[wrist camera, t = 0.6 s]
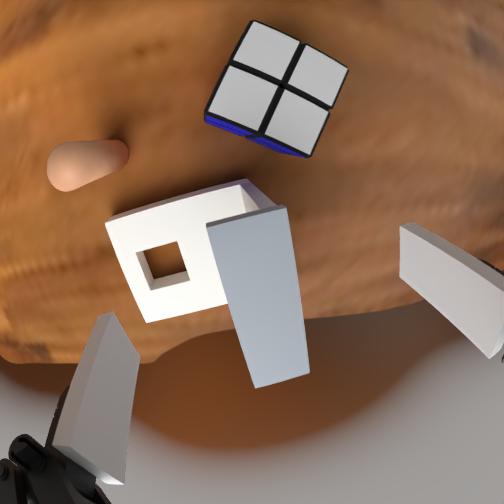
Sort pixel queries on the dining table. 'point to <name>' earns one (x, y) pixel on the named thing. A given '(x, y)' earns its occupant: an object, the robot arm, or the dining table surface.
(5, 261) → the dining table surface
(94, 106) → the dining table surface
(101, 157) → the peg
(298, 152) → the puzzle cube
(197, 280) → the socket board
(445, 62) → the dining table surface
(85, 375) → the robot arm
